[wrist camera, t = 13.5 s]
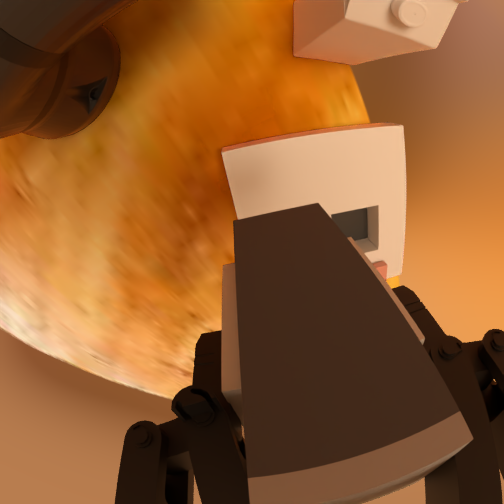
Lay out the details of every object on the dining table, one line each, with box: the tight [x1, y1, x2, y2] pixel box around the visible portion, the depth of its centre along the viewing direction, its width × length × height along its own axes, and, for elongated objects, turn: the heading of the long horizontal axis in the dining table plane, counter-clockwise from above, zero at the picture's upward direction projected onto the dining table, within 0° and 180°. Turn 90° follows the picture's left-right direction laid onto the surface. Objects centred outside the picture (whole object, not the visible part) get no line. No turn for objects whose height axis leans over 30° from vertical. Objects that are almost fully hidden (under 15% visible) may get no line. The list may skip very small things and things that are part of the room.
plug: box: [233, 203, 473, 504], centre depth 10 cm, size 4×4×13 cm
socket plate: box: [221, 123, 406, 279], centre depth 32 cm, size 20×20×4 cm
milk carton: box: [293, 0, 468, 65], centre depth 14 cm, size 7×7×19 cm
